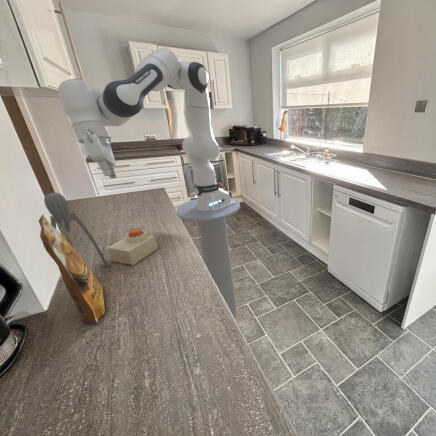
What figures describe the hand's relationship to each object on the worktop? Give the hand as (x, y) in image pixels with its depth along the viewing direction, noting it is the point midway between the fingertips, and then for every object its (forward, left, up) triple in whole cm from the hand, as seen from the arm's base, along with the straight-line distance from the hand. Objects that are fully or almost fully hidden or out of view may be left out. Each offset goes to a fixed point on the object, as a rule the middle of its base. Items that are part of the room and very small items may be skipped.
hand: (111, 177), depth 80 cm
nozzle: (-3, -3, -24) cm, 25 cm away
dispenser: (0, -2, -32) cm, 32 cm away
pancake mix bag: (+18, +19, -32) cm, 41 cm away
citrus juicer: (+16, +2, -32) cm, 36 cm away
